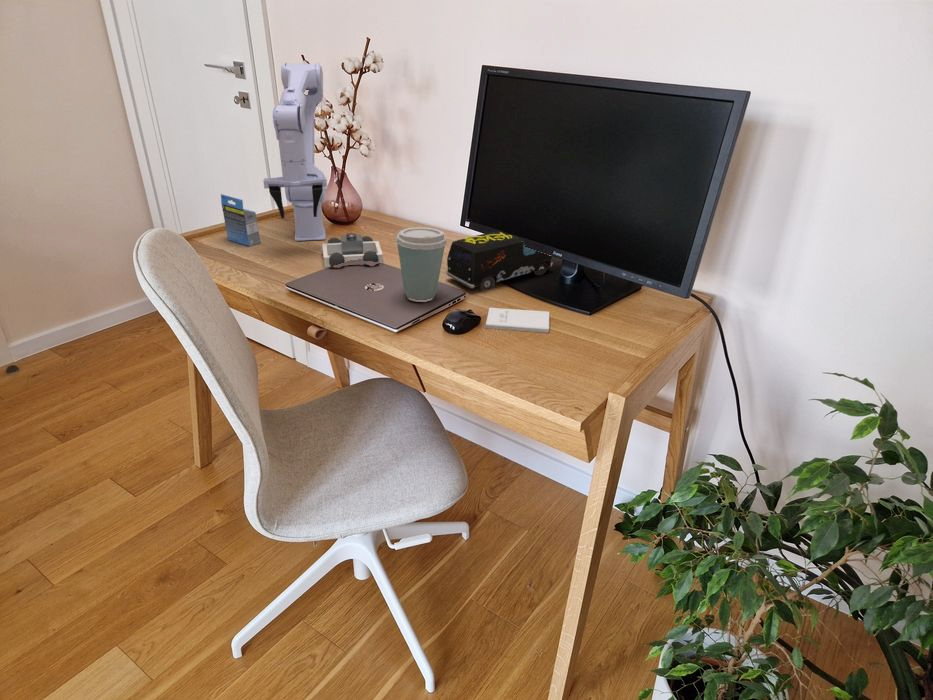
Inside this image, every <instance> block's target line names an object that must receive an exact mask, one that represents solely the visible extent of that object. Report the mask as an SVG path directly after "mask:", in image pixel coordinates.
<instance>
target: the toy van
mask: <svg viewBox="0 0 933 700" xmlns="http://www.w3.org/2000/svg"><path fill="white" fill-rule="evenodd" d="M500 231H501V230H496V231H491V232H487V233H481V234H478V235H474V236H473V235H472V236H470V237H465V238H461V239H457V240H454V241H452V242H451V245H450V247H449V251H448V254H447V257H446V259H447V260H446V265H447V271H445V274H446V276H448V277H449V278H452V279H453V280H455V281H457V282H459V283H460V284H462V285H464V286H466V287H468V288H470V289H474V288H476V287H478V289H479V290H480V291H488V290H492V289H495V287H496V283H499V282H503V281H506V280H508V279H512V278H516V277H520V276H522V275H527V274H531V273H534V271H538V270H540V269H544V268H548V269H549V267H552V266H553V265H554V264H553V262H552V260H553V255H552V256H549V255H547V254H544V253H541V252H538V251H535V250H532V249H529V248H527V247H525V246H526V245H524V244H525V241H524V240H522V239H520V238H519V237H516V236H513V235H510V234H506V233H503V232H500Z"/></svg>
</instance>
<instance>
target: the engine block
mask: <svg viewBox="0 0 933 700" xmlns="http://www.w3.org/2000/svg"><path fill="white" fill-rule="evenodd" d="M362 237H363V236H362V234H361V233H357V234H356V233H354V232H350V233H349V232H348V233H346V234H340V240H341V250H342V255H355V254H364V253H363V240H362Z"/></svg>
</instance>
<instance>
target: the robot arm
mask: <svg viewBox="0 0 933 700" xmlns="http://www.w3.org/2000/svg"><path fill="white" fill-rule="evenodd" d="M280 76H281V82H282V83H281V84H282V85H283V91H282V92H281V95H280V100H279V102H278V105H276V107H273V108H272V122H273V128H274V131H275V136H276V140H277V141H278V148H279V156H280V157H279V158H280V166H281V175H282V176H280V177H279V176H278V177H277V176H276V177H269V178H268V177H266V178H263V180H262V181H263V188H264V189H268V190H269V191H268V192H269V194H270V196H271V197H272V199H273V201H274V202H275V205H276V206H277V209H278V212H279V214H280V219H285V209H284V204H283V199H282V198H283V197H282V188H284V194H285V199H286V200H287V202H289V203H291V206H292V207H293V217H294V223H295V224H294V226H295V228H294V241H295V242H297V241H299V242H300V241H301V242H302V241H319V240H322V241H323V240H326V239H327V238H326V237H327V236H326V228H325V227H324V224H323V223H324V221H323V220H324V219H323V212H322V211H323V209H322V204H323V203H324V202H325V201H326V199H327V187H328V183H327V182H328V181H327V177H326V176H325V174H324V172H323V171H322V170H321V169H319V168H318V167H317V166H316V165H315V115H316V108H317V105H318V104H320V103H322V102H323V97H324V74H323V68H322V66H321V65H320V63H318V62H317V63H287V62H283V63H282V65H281V67H280ZM305 90H309V92H308V95H305V94H304V92H305Z"/></svg>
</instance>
